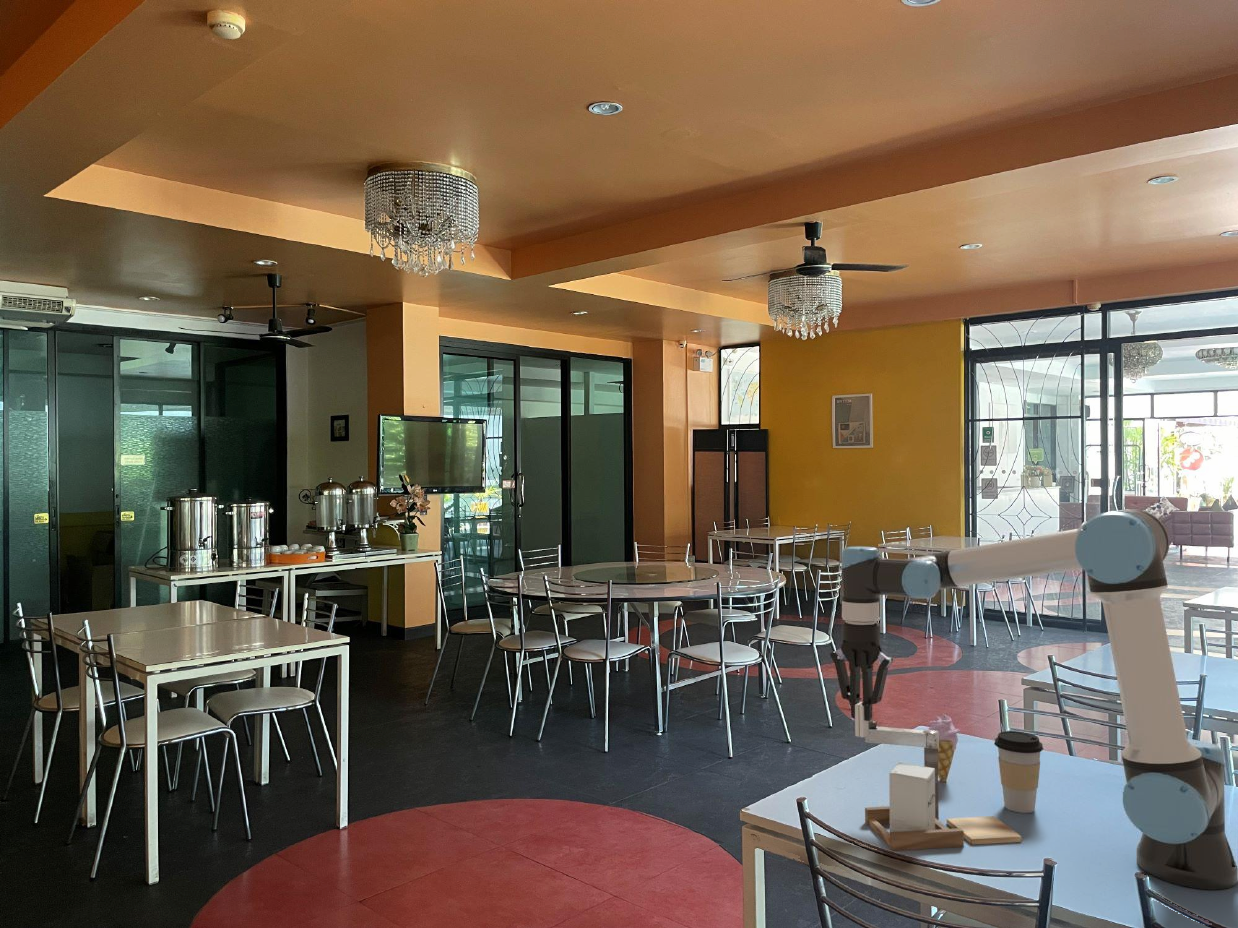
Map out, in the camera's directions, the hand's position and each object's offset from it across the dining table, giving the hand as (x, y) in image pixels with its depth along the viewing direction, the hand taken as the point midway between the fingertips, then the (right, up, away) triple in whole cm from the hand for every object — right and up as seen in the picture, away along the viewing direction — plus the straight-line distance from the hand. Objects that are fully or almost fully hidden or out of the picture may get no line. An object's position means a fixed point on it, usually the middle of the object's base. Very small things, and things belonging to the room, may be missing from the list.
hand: (861, 734), depth 184 cm
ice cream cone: (+24, -17, +19) cm, 35 cm away
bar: (+8, -2, 0) cm, 8 cm away
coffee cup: (+34, -16, +3) cm, 38 cm away
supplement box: (+7, -17, -10) cm, 21 cm away
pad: (+21, -16, -10) cm, 28 cm away
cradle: (+8, -16, -9) cm, 20 cm away
